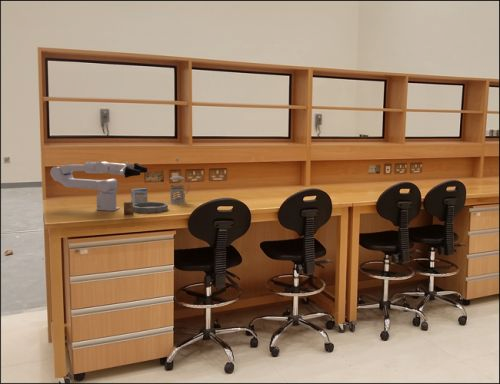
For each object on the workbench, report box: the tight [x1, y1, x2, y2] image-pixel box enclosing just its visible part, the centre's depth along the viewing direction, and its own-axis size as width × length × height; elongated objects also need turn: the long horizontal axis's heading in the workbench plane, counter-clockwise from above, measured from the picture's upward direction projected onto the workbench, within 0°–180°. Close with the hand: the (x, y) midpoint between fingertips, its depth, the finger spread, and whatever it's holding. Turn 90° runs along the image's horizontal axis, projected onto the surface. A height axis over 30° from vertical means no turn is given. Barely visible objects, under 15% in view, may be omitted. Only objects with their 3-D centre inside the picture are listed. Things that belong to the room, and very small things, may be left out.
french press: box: [168, 158, 191, 205], centre depth 275 cm, size 10×12×25 cm
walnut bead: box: [123, 201, 134, 216], centre depth 241 cm, size 4×4×6 cm
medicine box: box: [130, 187, 149, 204], centre depth 269 cm, size 8×4×9 cm, turn 126°
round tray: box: [133, 201, 169, 214], centre depth 253 cm, size 18×18×3 cm
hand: (143, 171), depth 245 cm, fingers open, 7 cm apart
